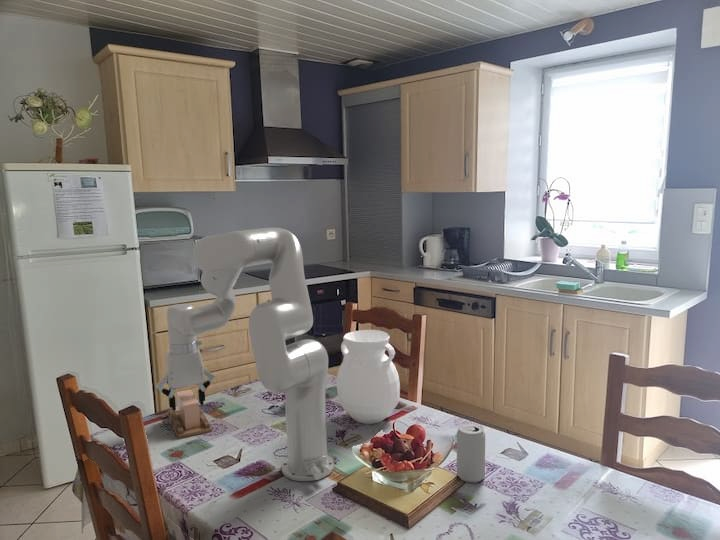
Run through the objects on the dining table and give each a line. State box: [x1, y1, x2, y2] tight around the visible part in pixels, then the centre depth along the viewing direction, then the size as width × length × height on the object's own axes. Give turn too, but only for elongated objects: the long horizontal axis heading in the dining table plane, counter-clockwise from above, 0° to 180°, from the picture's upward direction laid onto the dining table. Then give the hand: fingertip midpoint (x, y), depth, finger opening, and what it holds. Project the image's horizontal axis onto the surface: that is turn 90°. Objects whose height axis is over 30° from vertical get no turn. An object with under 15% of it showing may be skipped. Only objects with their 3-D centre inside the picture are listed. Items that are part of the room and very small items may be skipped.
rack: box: [167, 406, 212, 440], centre depth 156 cm, size 18×9×2 cm, turn 28°
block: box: [176, 389, 200, 429], centre depth 156 cm, size 4×12×7 cm, turn 28°
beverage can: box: [456, 422, 486, 484], centre depth 123 cm, size 6×6×12 cm
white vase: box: [336, 329, 401, 425], centre depth 156 cm, size 19×18×25 cm
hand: (187, 406), depth 156 cm, fingers open, 7 cm apart
